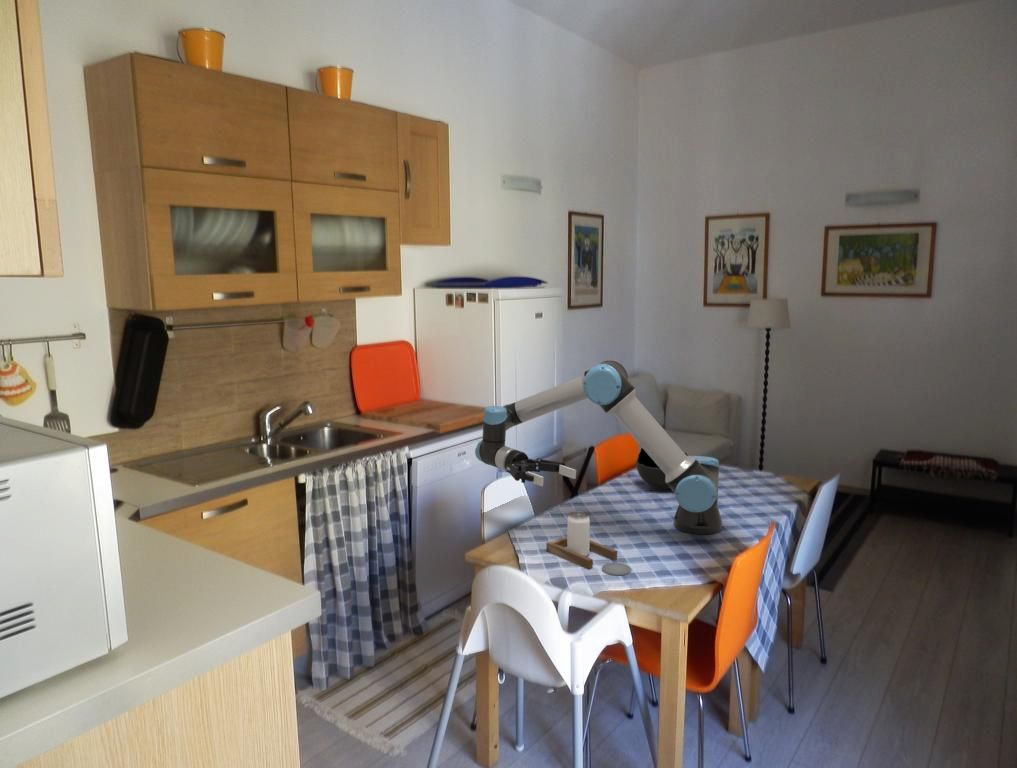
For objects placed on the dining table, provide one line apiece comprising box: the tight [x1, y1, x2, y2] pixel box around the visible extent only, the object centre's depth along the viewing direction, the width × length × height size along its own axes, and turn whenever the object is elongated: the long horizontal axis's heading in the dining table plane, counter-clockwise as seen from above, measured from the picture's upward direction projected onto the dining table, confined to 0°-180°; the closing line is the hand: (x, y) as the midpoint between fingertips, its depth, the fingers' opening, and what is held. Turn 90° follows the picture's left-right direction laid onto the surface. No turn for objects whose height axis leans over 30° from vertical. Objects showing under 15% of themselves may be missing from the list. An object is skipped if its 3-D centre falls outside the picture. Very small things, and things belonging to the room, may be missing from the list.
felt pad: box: [601, 562, 632, 577], centre depth 201 cm, size 8×8×1 cm
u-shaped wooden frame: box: [545, 535, 618, 570], centre depth 211 cm, size 12×18×2 cm, turn 39°
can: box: [566, 510, 591, 557], centre depth 211 cm, size 6×6×12 cm
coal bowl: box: [635, 447, 688, 490], centre depth 276 cm, size 20×20×19 cm
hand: (559, 478), depth 216 cm, fingers open, 13 cm apart
